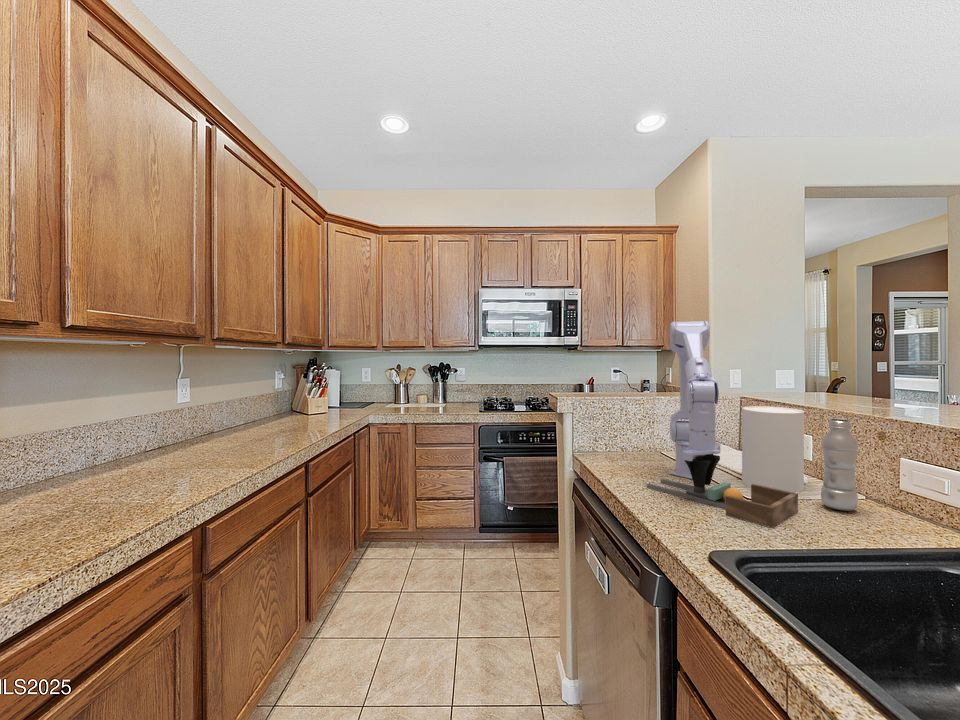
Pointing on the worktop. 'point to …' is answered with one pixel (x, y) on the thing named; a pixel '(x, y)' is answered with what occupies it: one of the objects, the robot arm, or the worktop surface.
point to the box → (763, 506)
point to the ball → (732, 493)
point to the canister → (773, 447)
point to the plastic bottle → (839, 467)
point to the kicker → (710, 491)
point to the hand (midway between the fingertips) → (702, 485)
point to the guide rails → (684, 495)
